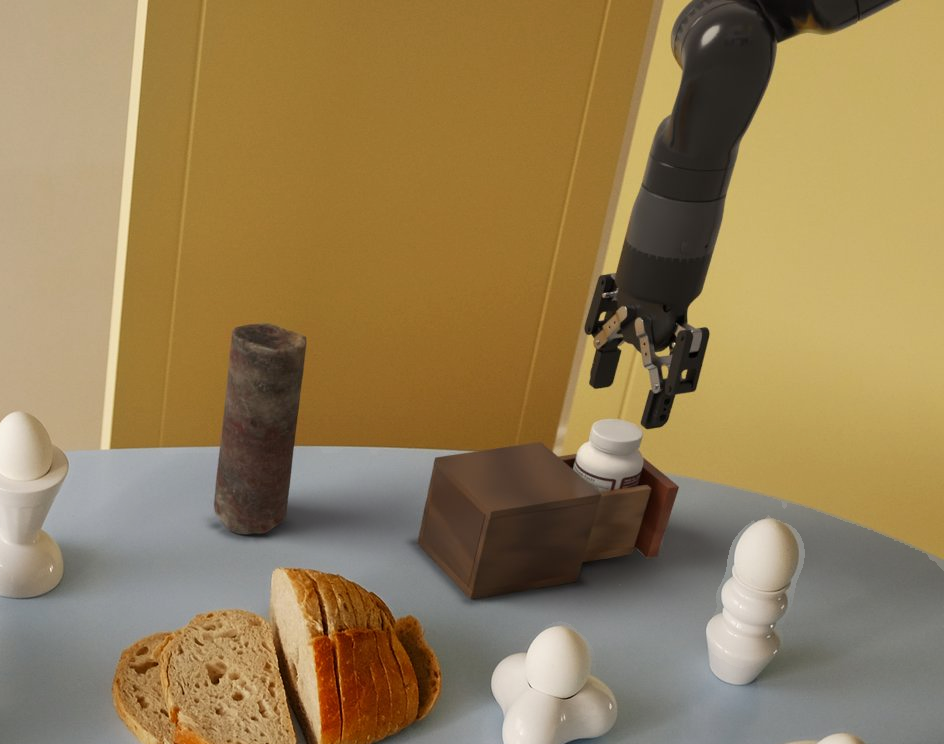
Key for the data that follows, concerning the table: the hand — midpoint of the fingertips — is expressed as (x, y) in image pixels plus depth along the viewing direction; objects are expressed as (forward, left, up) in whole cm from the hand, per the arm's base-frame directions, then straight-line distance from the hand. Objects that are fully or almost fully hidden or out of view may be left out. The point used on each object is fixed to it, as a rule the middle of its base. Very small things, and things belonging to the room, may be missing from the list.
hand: (625, 406), depth 165 cm
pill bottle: (0, 0, -14) cm, 14 cm away
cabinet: (+10, 0, -15) cm, 18 cm away
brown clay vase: (+30, -14, -16) cm, 37 cm away
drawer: (0, 0, -14) cm, 15 cm away
